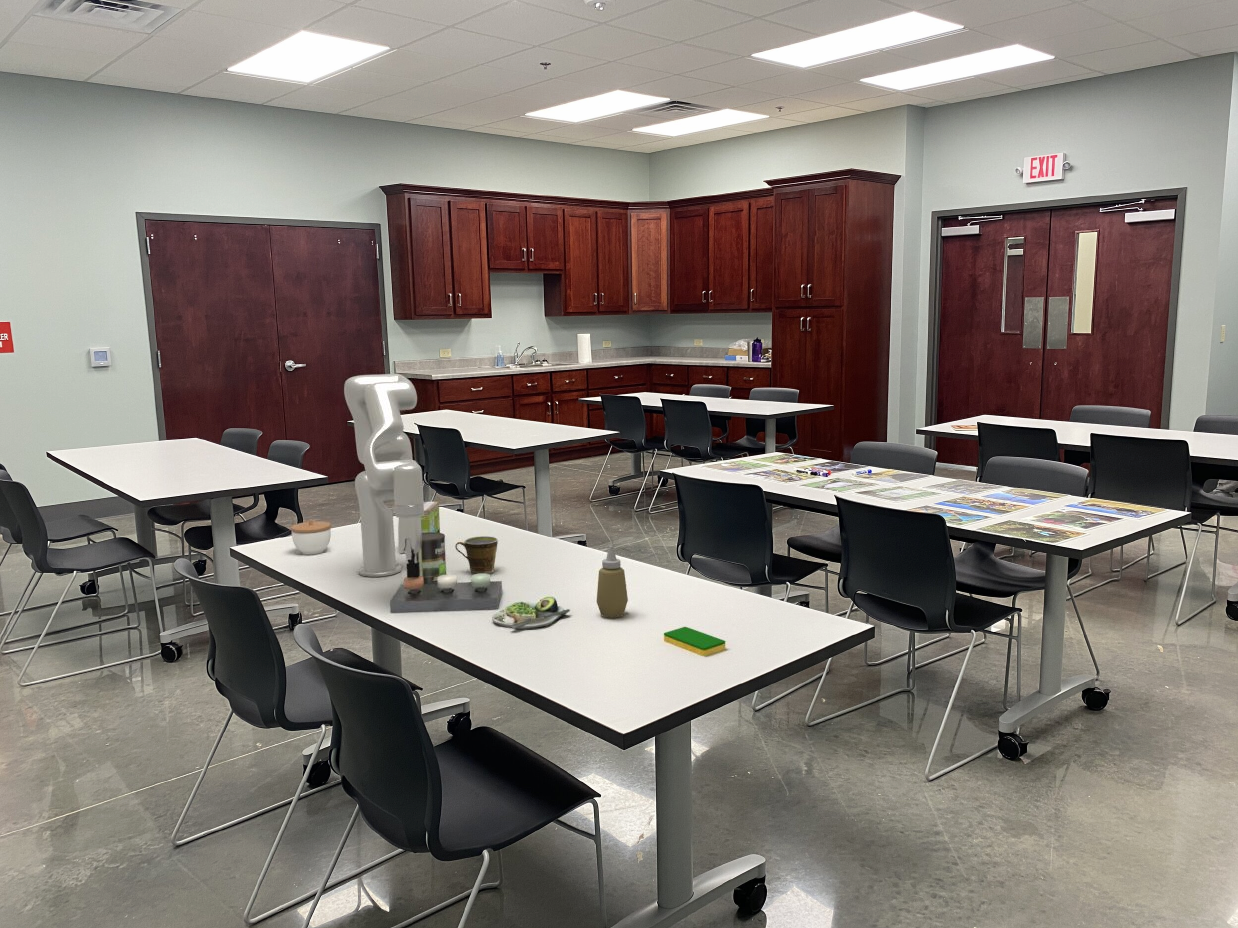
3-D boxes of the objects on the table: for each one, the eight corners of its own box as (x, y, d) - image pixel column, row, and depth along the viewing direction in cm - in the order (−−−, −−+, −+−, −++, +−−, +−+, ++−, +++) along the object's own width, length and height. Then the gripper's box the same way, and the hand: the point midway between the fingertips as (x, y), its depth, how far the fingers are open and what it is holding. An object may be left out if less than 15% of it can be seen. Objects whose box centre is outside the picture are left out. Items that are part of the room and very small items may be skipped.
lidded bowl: (317, 545, 318) (314, 514, 317) (340, 550, 311) (338, 518, 309) (284, 553, 308) (282, 521, 306) (308, 558, 301) (305, 525, 299)
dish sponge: (703, 658, 208) (703, 648, 207) (663, 642, 218) (662, 632, 218) (726, 650, 212) (726, 640, 212) (685, 635, 223) (685, 625, 222)
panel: (401, 594, 259) (401, 584, 259) (502, 591, 260) (501, 581, 260) (390, 612, 243) (389, 601, 243) (497, 609, 245) (497, 598, 244)
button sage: (472, 592, 254) (471, 573, 254) (491, 592, 255) (490, 573, 254) (470, 598, 249) (469, 578, 248) (490, 597, 250) (489, 578, 249)
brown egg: (406, 594, 254) (405, 575, 253) (425, 594, 254) (424, 575, 253) (403, 600, 248) (402, 581, 248) (422, 599, 249) (421, 580, 248)
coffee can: (452, 578, 274) (450, 532, 272) (439, 588, 264) (436, 540, 262) (420, 577, 276) (417, 531, 274) (405, 587, 266) (402, 539, 264)
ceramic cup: (502, 567, 285) (501, 536, 283) (494, 576, 275) (493, 544, 273) (461, 567, 286) (459, 536, 285) (452, 576, 276) (450, 543, 275)
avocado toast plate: (542, 637, 223) (542, 619, 222) (477, 629, 230) (477, 611, 229) (575, 613, 241) (575, 596, 240) (514, 606, 247) (514, 589, 247)
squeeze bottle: (605, 621, 233) (603, 552, 230) (591, 613, 240) (589, 545, 237) (633, 616, 236) (632, 547, 233) (619, 607, 243) (617, 541, 241)
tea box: (432, 553, 305) (429, 509, 302) (401, 553, 305) (399, 509, 303) (441, 542, 320) (439, 500, 317) (412, 542, 320) (409, 500, 317)
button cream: (439, 593, 254) (438, 574, 253) (458, 593, 254) (457, 574, 253) (436, 599, 249) (435, 580, 248) (456, 598, 249) (455, 579, 248)
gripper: (400, 505, 255) (404, 570, 257) (390, 516, 240) (394, 585, 243) (428, 504, 255) (431, 569, 258) (419, 515, 240) (423, 583, 243)
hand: (413, 576), depth 250 cm, fingers closed
